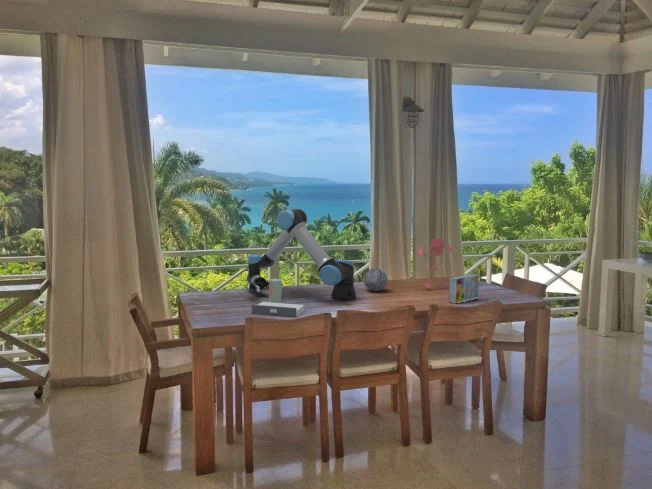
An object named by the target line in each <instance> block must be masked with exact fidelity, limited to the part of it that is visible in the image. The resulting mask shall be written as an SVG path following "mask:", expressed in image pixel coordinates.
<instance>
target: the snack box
mask: <svg viewBox="0 0 652 489" xmlns="http://www.w3.org/2000/svg"><path fill="white" fill-rule="evenodd" d="M479 279H480V276H479V275H478V274H468V275H467V274H466V275H461V276H456V277H455V276H454V277H450V278H449V299H448V300H451V301H454V302H458V301H463V300H467V299H471V298H475V297H478V298H479V284H480V283H479Z"/></svg>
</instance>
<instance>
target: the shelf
mask: <svg viewBox="0 0 652 489" xmlns="http://www.w3.org/2000/svg"><path fill="white" fill-rule="evenodd" d="M304 311H305V305H304V304H295V303H283V302H281V303H272V302H269V301H262V302H260V303H258V304H251V314H255V315H265V316H278V317H290V318H291V317H292V318H296V317H298V316H299V315H301V314H302V313H303V312H304Z"/></svg>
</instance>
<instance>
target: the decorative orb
mask: <svg viewBox="0 0 652 489" xmlns="http://www.w3.org/2000/svg"><path fill="white" fill-rule="evenodd" d="M363 283H364V286H365V287H366V288H367V289H368V290H369V291H370V292H375V291H376V292H381V291H382V290H384V289H385V288H386V286H387V283H388V276H387V274H386V272H385V271H384V270H382V269H380V268H377V267H374V268H373V267H372V268H370V269H369V270H367V271H366V273H365V274H364V276H363Z"/></svg>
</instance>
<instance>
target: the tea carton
mask: <svg viewBox="0 0 652 489" xmlns="http://www.w3.org/2000/svg"><path fill="white" fill-rule="evenodd" d="M268 282H269V288H268V302H272V303H282V297H283V296H282V293H283V292H282V291H283V283H282V280H281V279H279V278H269V279H268Z"/></svg>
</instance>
